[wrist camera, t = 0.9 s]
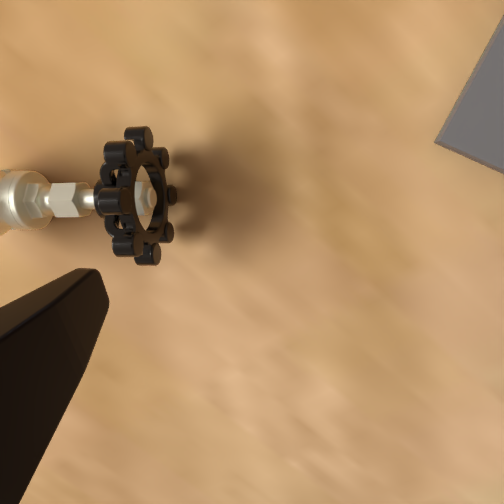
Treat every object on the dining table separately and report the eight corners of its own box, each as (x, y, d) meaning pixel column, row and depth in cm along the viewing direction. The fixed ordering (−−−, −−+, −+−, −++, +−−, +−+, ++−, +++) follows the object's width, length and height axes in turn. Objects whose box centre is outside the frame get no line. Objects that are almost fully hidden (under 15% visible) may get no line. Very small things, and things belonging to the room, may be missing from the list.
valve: (-4, 252, 25) (180, 253, 23) (-114, 278, 19) (126, 282, 17) (-19, 143, 24) (173, 133, 22) (-143, 131, 18) (112, 115, 16)
